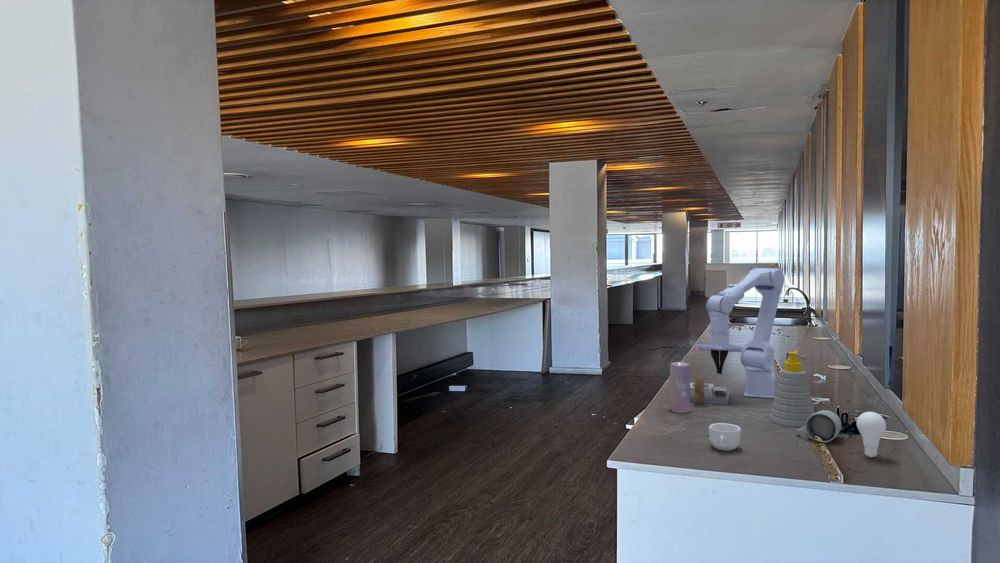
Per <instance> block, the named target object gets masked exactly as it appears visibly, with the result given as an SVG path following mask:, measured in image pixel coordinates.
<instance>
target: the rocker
mask: <svg viewBox="0 0 1000 563" xmlns="http://www.w3.org/2000/svg"><path fill="white" fill-rule="evenodd" d="M714 391H722V392H728V391H727V387H725V386H714Z"/></svg>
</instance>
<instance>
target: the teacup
mask: <svg viewBox="0 0 1000 563" xmlns="http://www.w3.org/2000/svg"><path fill="white" fill-rule="evenodd" d="M708 434H709V435H708V436H709V437H708V438H709V442H710V444H711V445H712V446H713V447H714V448H716V449H717V450H718V451H719V450H720V451H725V452H726V451H728V452H729V451H731V452H732V451H734V450H735V449H737V448H738V447H739V445H740V442H741V435H742V429H741V427H740V426H739V425H737V424H733V423H732V424H731V423H726V422H717V423H712V424H710V425H709V426H708Z"/></svg>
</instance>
